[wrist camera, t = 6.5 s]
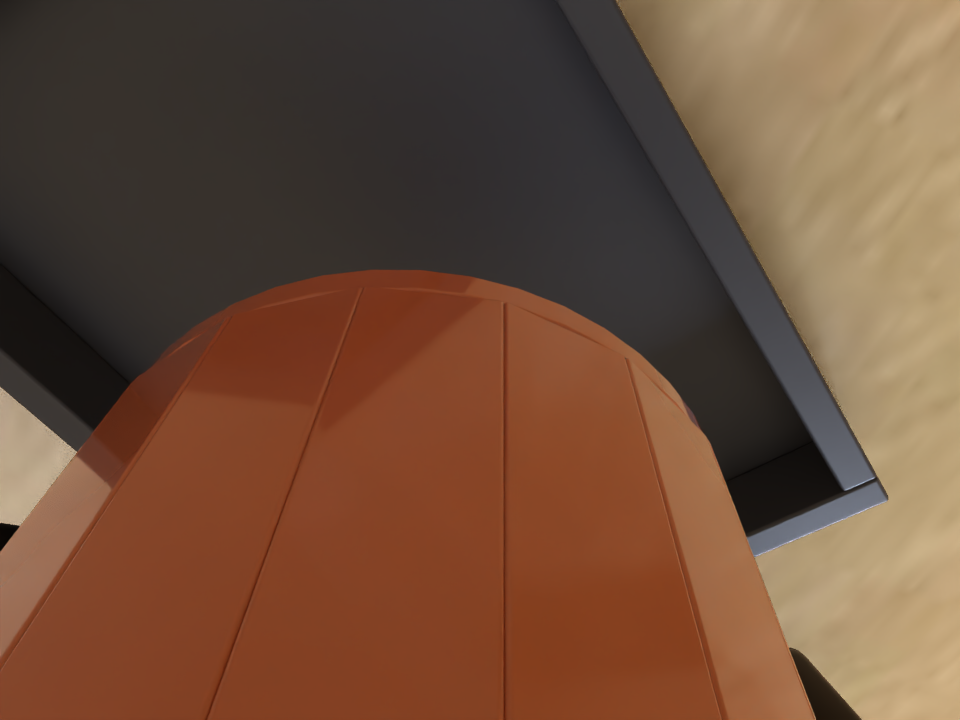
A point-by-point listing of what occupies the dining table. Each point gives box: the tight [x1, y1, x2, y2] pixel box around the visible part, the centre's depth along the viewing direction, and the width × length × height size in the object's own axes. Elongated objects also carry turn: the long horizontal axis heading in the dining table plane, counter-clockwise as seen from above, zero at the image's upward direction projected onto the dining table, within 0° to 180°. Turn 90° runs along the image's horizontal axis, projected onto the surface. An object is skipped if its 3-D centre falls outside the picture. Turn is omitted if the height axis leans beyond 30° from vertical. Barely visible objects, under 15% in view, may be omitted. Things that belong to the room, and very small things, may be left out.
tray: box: [0, 0, 888, 557], centre depth 17 cm, size 20×15×2 cm
